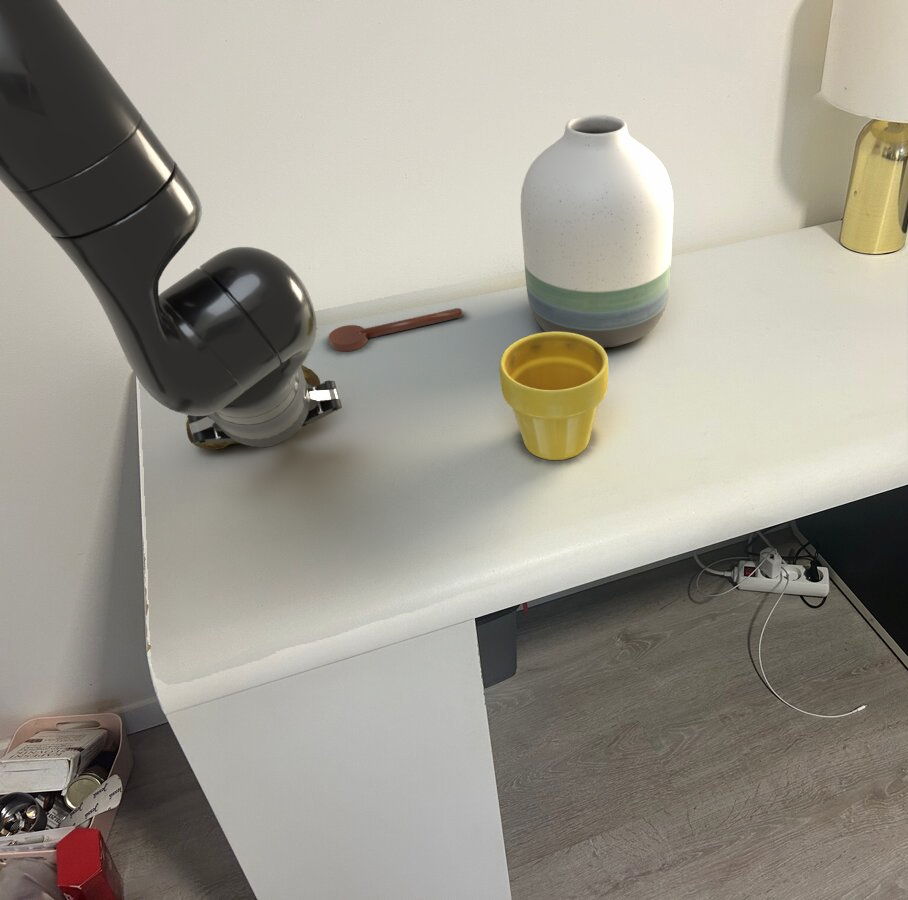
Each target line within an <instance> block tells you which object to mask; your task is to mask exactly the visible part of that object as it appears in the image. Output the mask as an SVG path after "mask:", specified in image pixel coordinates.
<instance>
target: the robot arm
mask: <svg viewBox="0 0 908 900" xmlns="http://www.w3.org/2000/svg"><path fill="white" fill-rule="evenodd" d="M0 182H1V183H2V184H3V186H5V187H6V188H7V190H9V192H10V193H11V194H12V195H13V196H14V197H15V199H16V200H18V201H19V202H20V204H21V205H22V206H23V207H24V208H25V209H26V210H27V212H28V213H29V214H30V215H31V216H32V217H33V218H34V219H35V220H36V221H37V223H38V224H39V225H40V226H41V227H42V228H43V229H44V230H45V231H46V233H48V235H50V237H51V238H52V239H53V240H54V241H55V242H56V243H57V244H58V246H59V247H60V248H61V249H62V251H63V252H64V253H65V254H66V255H67V257H68V258H69V259H70V260H71V261H72V263H73V264H74V266H75V267H76V269H78V271H79V272H80V273H81V275H82V276H83V277H84V279H85V281H86V283H88V285H89V287H90V288H91V291H92V292H93V294H94V295H95V297H96V299H97V300H98V302H99V304H100V305H101V307H102V309H103V311H104V314H105V315H106V317H107V319H108V321H109V324H110V325H111V328H112V329H113V332H114V334H115V336H116V339H117V341H118V343H119V345H120V347H121V349H122V352H123V354H124V355H125V358H126V360H127V362H128V364H129V366H130V368H131V370H132V372H133V373H134V375H135V377H136V378H137V380H138V381H139V383H140V384H141V386H142V387H143V388H144V390H145V391H146V392H147V393H148V394H149V395H150V396H151V397H152V399H154V400H155V401H156V402H158V403H159V404H161V406H164V407H165V408H167V409H169V410H171V411H173V412H174V413H175V412H176V413H179V414H182V415H186V417H187V420H188V421H189V426H190V429H191V433H192V435H193V439H194V443H195V444H204V443H220V442H239V443H238V444H242V445H245V446H248V447H249V446H250V447H257V448H265V447H271V446H275V445H279V444H281V443H283V442H285V441H287V440H289V439H290V438H292V437H293V436H294V435H295V434H296V433H297V432H298V431H299V430H300V429H301V428H305V427H307V426H308V425H311V424H312V423H315V422H316V421H319V420H321V419H323V418H324V417H326V416H328V415H330V414H332V413H334V412H337V411H339V410H340V409H342V408H343V406H342V403H341V399H340V395H339V392H338V389H337V385H336V381H335V380H325V381H324V382H322V383H320V385H318V386H317V387H316V386H315V387H312V386H311V385H309V384H307V382H306V380H305V378H304V374H303V371H302V368H301V366H302V365H303V364H304V362H305V361H306V359H307V357H308V356H309V354H310V352H311V351H312V348H313V346H314V343H315V340H316V336H317V317H316V316H317V315H316V312H315V307H314V304H313V301H312V299H311V297H310V293H309V291H308V289H307V287H306V285H305V284H304V282H303V280H302V279H301V278H300V277H299V275H298V274H297V272H295V270H294V269H293V268H292V267H291V266H290V265H289V264H288V263H287V262H286V261H284V260H283V259H281V258H280V257H278V256H277V255H275V254H273V253H271V252H270V251H267V250H265V249H262V248H257V247H253V246H237V247H231V248H228V249H225V250H222V251H221V252H219V253H217V254H215V255H214V256H212V257H211V258H210V259H208V260H207V261H205V262H203V263H202V264H201V265H199V268H195V269H193V270H192V271H191V272H189V273H188V274H187V275H184V277H182V278H180V279H179V280H177V282H175V283H173V284H172V285H171V286H169V287H168V288H166V289H164V290H163V291H162V292H161V293H159V283H160V280H161V277H162V275H163V273H164V271H165V269H166V268H167V266H169V264H170V263H171V262H172V260H173V259H174V257H175V256H176V255H177V254H178V253H179V252H180V251H181V250H182V249H183V248H184V247H185V245H186V244H187V242H188V241H189V240H190V239H191V237H192V236H193V234H194V233H195V232H196V230H197V229H198V227H199V225H200V222H201V220H202V214H203V209H202V208H203V207H202V202H201V199H200V197H199V195H198V193H197V192H196V190H195V188H194V186H193V185H192V183H191V182H190V181H189V178H187V176H186V174H185V173H184V172H183V170H182V169H181V168H180V166H179V165H178V164H177V162H176V161H175V159H174V158H173V156H172V155H171V154H170V153H169V152H168V149H166V147H165V145H164V144H163V142H161V140H160V139H159V138H158V136H157V134H156V133H155V132H154V131H153V129H152V127H150V125H149V123H148V122H147V121H146V119H145V118H144V116H143V115H142V113H140V111H139V110H138V108H137V107H136V105H135V104H134V103H133V101H132V100H131V99H130V97H129V96H128V94H127V93H126V92H125V90H124V89H123V88H122V86H121V85H120V84H119V82H118V81H117V80H116V79H115V77H114V75H113V74H112V73H111V72H110V70H109V69H108V67H107V66H106V65H105V63H104V62H103V61H102V59H101V58H100V57H99V55H98V54H97V53H96V52H95V49H94V48H93V47H92V46H91V44H90V43H89V42H88V40H87V39H86V37H85V36H84V35H83V34H82V32H81V31H80V29H79V28H78V27H77V25H76V24H75V23H74V21H73V20H72V19H71V17H70V16H69V15H68V13H67V11H65V9H64V8H63V6H62V5H61V3H60V1H59V0H0Z"/></svg>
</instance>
